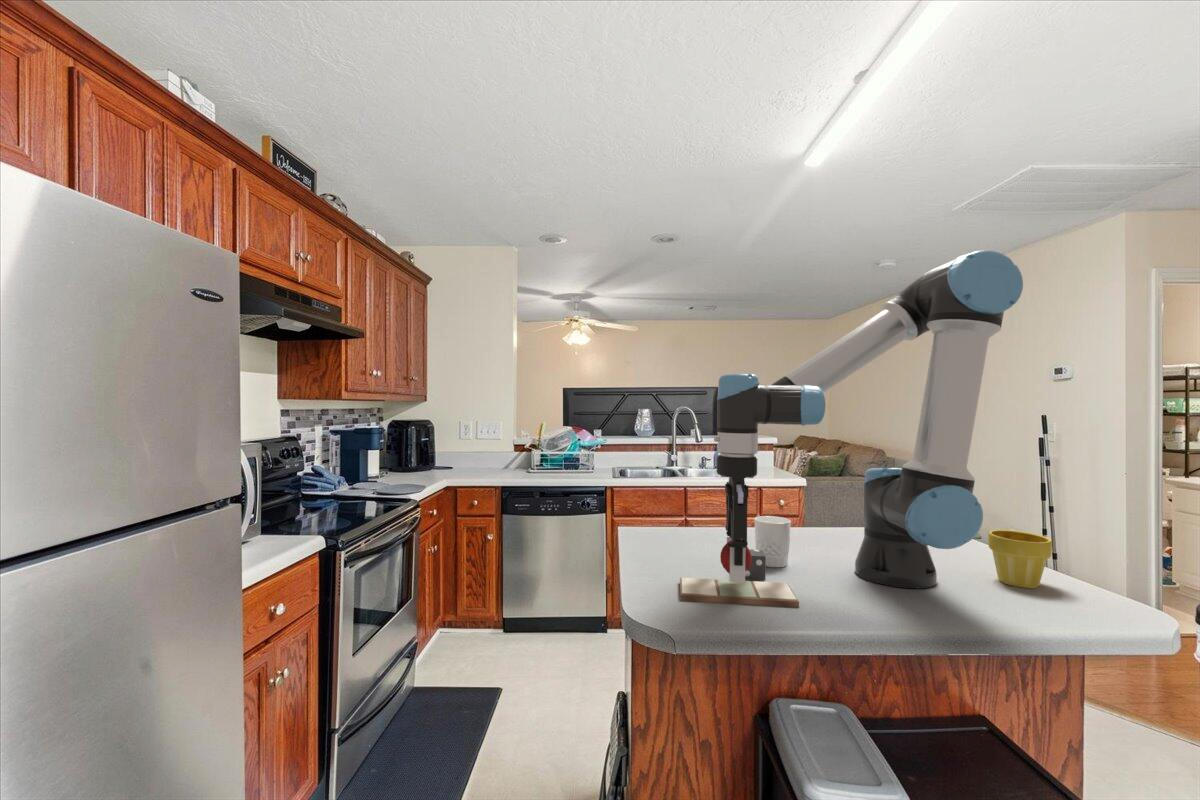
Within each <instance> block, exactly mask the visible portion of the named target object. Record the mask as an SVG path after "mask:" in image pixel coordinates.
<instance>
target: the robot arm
mask: <svg viewBox="0 0 1200 800" xmlns="http://www.w3.org/2000/svg"><path fill="white" fill-rule="evenodd" d="M1023 288H1024V281H1023V275H1022V272H1021V270H1020V269H1019V267H1018V265H1016V264H1015V263H1014V262H1013V260H1012V259H1011V258H1010V257H1009V256H1007V255H1005V254H1003V253H1001V252H998V251H995V250H987V249H983V250H982V249H981V250H976V251H973V252H970V253H965V254H962V255H959V256H958V257H956V258H955V259H953V260H950V261H948V262H946V263H944V264H942V265H939V266H937V267H935V268H932V269H930V270H927V272H924V273H923V274H922V275H920V276H919V277H918V278H916V279H914V280H913V281H912V282H911V283H910V284H909V285H908V286H906V287H905V288H903V290H901V291H900V292H898V293H897V294H896V295H895V296H893V297H892V298H891V299H889V300H887V301H886V302H885V303H883V305H882V307H881V311H880V312H878V313H877V314H875V315H874V316H872V317H871V318H870V319H868V320H866V321H864V322H863V323H862V324H860V325H859V326H857V327H855V329H853V330H851V331H850V332H849V333H848V332H847V334H845V335H844V336H842V337H840V338H839V339H837V340H836V341H835V342H833V343H832V344H830V345H829V346H827V347H826V348H824V349H822V350H821V351H819V353H817V354H815V355H813V356H812V357H811V358H809V359H808V360H806V361H805V362H803V363H802V364H800V365H799V366H798V367H795V368H794V369H793V370H792V371H790V372H788V373H787V374H785V375H783V377H781V378H779V379H778V380H776V381H775V382H774V383H772V384H768V385H767V384H760V381H759V377H758V375H757V374H754V373H726V374H723V375H721V376H720V377H719V379H718V384H717V385H718V387H717V388H718V389H717V397H716V401H717V402H716V403H717V404H716V405H717V413H716V414H717V423H716V424H717V436H715V437H713V441H714V442H715V443H717V445H716V451H717V453H719V455H717V456H716V474H718V475H719V476H721V477H727V478H728V481H726V483H725V484H724V490H725V505H726V508H725V509H726V512H725V513H726V514H725V515H726V519H725V521H726V522H725V530H726V544H727V543H728V542H730V541H731V544H727V547H730V574H729V580H730V582H739V583H745V581H746V579H745V554H746V547H748V501H749V499H748V498H749V486H747V484H745V483H746V481H745V478H754V477H756V476H757V474H758V458H757V456H755V455H757V454H758V453H759V448H758V447H759V433H758V430H759V429H758V427H759V425H789V426H790V425H792V426H793V425H794V426H797V425H798V426H808V425H809V426H810V425H812V426H814V425H819V424H820V423H821V422H822V421H823V419H824V417H825V413H826V397H825V392H827V391H828V390H830V389H832V388H833V387H835V386H836V385H838V384H839V383H841V382H842V381H844V380H846V378H848V377H850V376H851V375H853V374H855V373H856V372H857V371H859V370H862V368H864V367H865V366H867V365H868V364H870V363H871V362H873V361H875V360H876V359H877V358H879V357H881V355H884V354H885V353H886V352H888V351H889V350H891V349H893V348H894V347H896V346H897V345H899V344H900V343H902V342H903V341H913V340H914V341H915V339H917V338H918V337H920V336H922V335H923V334H925V333H927V332H929V331H930V332H931V333H932V334H933V341H932V346H931V350H930V356H929V357H930V358H929V363H928V367H927V368H928V369H927V375H926V381H925V387H924V393H923V398H922V404H921V410H920V414H919V415H920V416H919V420H918V421H919V423H918V427H917V433H916V439H915V445H914V450H913V457H912V458H911V460H908V461H907V462H906V463H904V464H903V465H902V466H901V468H900V467H872V468H868V469H867V470H866V471H865V472H864V473H865V474H864V482H863V488H864V489H863V491H864V492H863V493H864V494H863V497H864V498H863V502H864V504H863V505H864V506H863V507H864V508H863V509H864V510H863V511H864V512H863V514H864V515H863V517H864V520H863V521H864V523H863V526H864V533H863V540H862V541H861V545H860V547H859V551H858V553H857V555H856V558H855V560H854V561H855V563H854V572H855V574H856V575H857V576H859V577H860V578H862V579H864V580H868V581H870V582H873V583H877V584H880V585H884V586H890V587H897V588H905V589H925V588H931V587H934V586H936V585H937V581H938V579H937V578H938V577H937V570H936V567H935V564H934V561H933V557H932V555H931V553H930V550H929V547H930V548H931V547H933V548H936V549H941V550H951V549H956V548H957V549H958V548H960V547H962V546H964V545H965V544H967V543H969V542H970V541H972V540H973V539H974V538H975V537H976V536H977V535H978V533H979V531H980V530H981V527H982V524H983V520H984V519H983V518H984V512H983V507H982V505H981V503H980V502H979V501H978V497H976V496H975V494H973V493H974V489H975V481H976V479H975V478H976V477H974V476H973V474H972V473H971V472H970V471H969V469H968V461H969V456H970V450H971V445H972V440H973V438H972V437H973V433H974V427H975V422H976V421H975V420H976V416H977V409H978V402H979V398H980V393H981V386H982V379H983V374H984V368H985V362H986V357H987V350H988V347H989V346H988V345H989V340H990V339H991V338H992V337H993V336H995V334H997V333H999V332H1001V330H1002V326H1003V325H1002V324H1003V319H1004V314H1005V311H1008V310H1009V309H1011V308H1012V306H1014V305H1015V304H1016V303H1017V302H1018V301H1019V299H1020V298H1021V295H1022V293H1023ZM737 539H739V540H737ZM928 546H929V547H928Z"/></svg>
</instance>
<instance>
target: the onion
mask: <svg viewBox="0 0 1200 800" xmlns="http://www.w3.org/2000/svg"><path fill="white" fill-rule="evenodd" d="M737 540H739V539H737ZM727 544H731V541H730V542H728V543H727V542H726V544H725V545H724V546H722V548H721V551H720V557H719V559H720V564H721V565H722V567H723V569H724V570H725V572H727V573H728V574H729V575H730V547H727ZM749 549H750V548H749V547H748V546H747V547H746V554H745V571H746V570H748V569H749V567H750V565H751V562H752V557H751V553H750V551H749Z"/></svg>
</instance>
